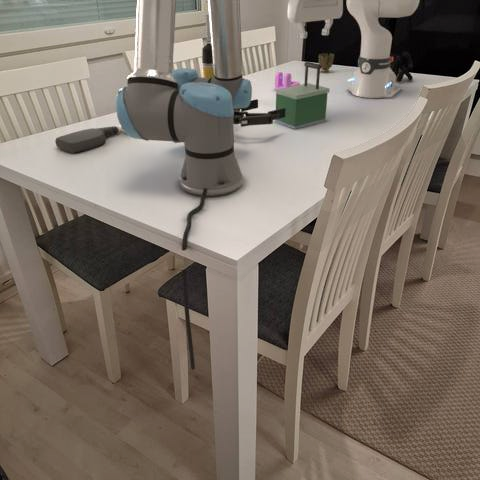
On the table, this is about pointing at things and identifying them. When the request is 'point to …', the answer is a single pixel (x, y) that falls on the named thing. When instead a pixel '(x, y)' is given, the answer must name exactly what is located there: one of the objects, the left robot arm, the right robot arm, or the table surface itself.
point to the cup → (326, 61)
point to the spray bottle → (86, 138)
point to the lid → (305, 86)
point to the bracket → (287, 81)
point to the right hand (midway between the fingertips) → (314, 36)
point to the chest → (302, 110)
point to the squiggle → (401, 66)
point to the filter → (207, 55)
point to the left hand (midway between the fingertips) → (270, 107)
